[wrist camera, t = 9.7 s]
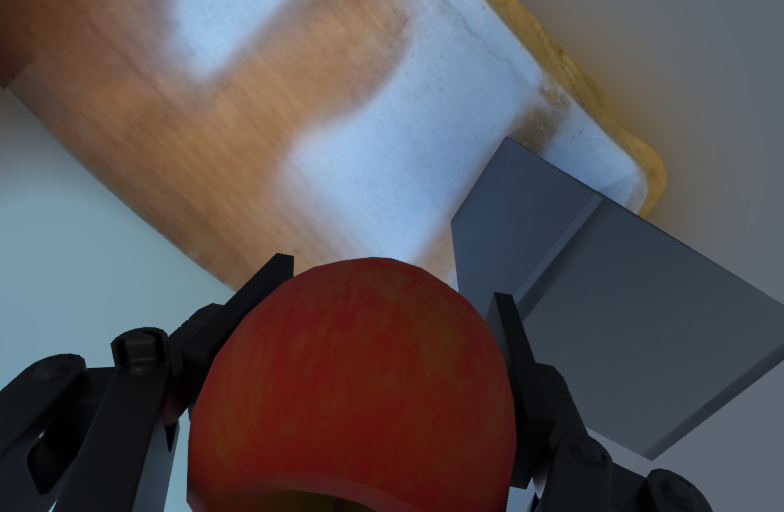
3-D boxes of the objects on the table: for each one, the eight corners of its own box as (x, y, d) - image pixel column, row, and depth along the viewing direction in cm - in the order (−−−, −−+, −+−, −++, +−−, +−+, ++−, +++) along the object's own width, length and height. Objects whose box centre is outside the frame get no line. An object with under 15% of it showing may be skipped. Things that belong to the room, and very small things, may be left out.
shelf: (505, 136, 44) (603, 197, 18) (604, 195, 45) (824, 329, 20) (450, 221, 48) (466, 365, 23) (541, 272, 50) (652, 461, 24)
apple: (460, 391, 18) (483, 745, 8) (289, 354, 19) (119, 653, 9) (513, 226, 15) (662, 505, 5) (301, 184, 15) (35, 364, 5)
